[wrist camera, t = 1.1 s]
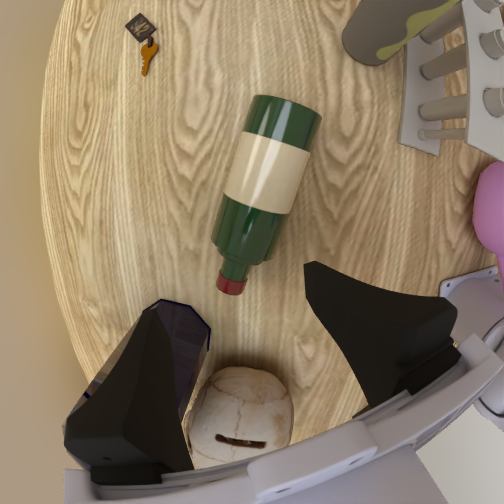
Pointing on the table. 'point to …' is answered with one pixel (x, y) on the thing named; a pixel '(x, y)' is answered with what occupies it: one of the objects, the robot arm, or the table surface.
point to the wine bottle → (261, 186)
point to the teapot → (491, 211)
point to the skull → (238, 417)
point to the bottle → (184, 353)
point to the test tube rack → (440, 64)
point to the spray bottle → (388, 26)
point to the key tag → (140, 31)
